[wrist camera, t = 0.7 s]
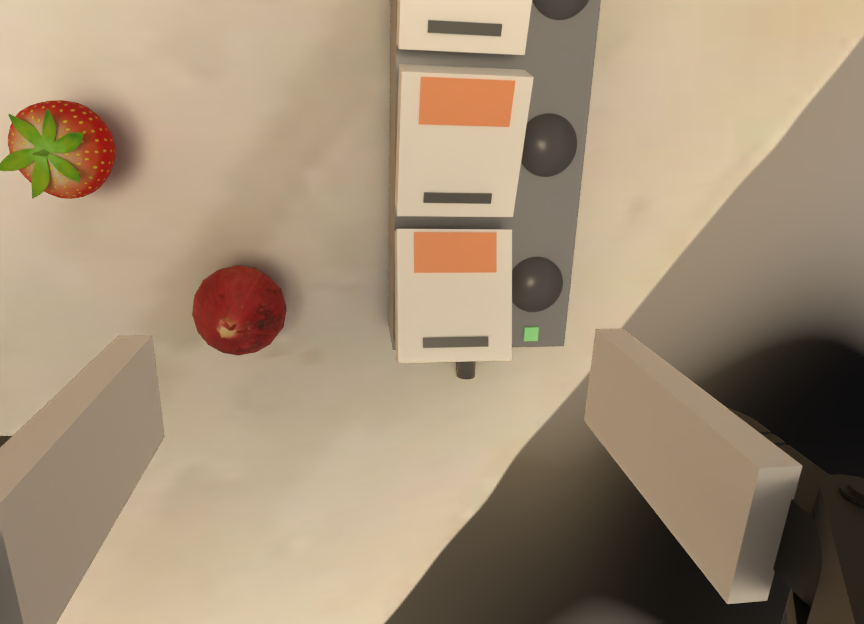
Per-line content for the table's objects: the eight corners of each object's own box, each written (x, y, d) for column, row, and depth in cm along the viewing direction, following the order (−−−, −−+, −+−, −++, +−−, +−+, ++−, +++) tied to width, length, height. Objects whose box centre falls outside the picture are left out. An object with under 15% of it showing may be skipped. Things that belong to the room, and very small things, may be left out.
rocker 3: (395, 358, 37) (398, 363, 35) (394, 231, 37) (397, 228, 34) (503, 356, 38) (512, 360, 36) (503, 232, 37) (512, 229, 35)
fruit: (36, 113, 37) (-45, 112, 29) (118, 94, 37) (58, 88, 29) (73, 197, 38) (5, 217, 31) (150, 178, 39) (102, 193, 31)
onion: (296, 263, 42) (284, 295, 34) (284, 337, 43) (271, 383, 36) (211, 248, 41) (180, 277, 33) (203, 325, 42) (171, 369, 35)
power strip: (388, 373, 45) (393, 409, 40) (391, -91, 36) (398, -131, 30) (537, 369, 47) (563, 404, 41) (578, -76, 37) (619, -111, 32)
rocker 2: (394, 202, 36) (397, 217, 34) (398, 64, 32) (402, 72, 30) (505, 204, 37) (513, 218, 35) (524, 69, 33) (534, 77, 31)
